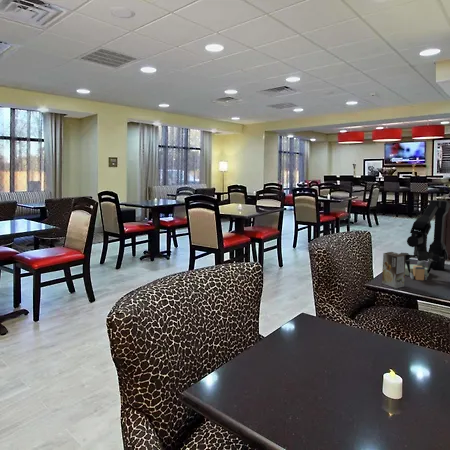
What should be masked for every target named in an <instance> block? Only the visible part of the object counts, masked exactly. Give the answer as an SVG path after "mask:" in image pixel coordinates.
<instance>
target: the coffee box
mask: <svg viewBox="0 0 450 450" xmlns="http://www.w3.org/2000/svg"><path fill="white" fill-rule="evenodd" d="M405 261H406V255H402V254H400V253H397V252H395V251H387V252H383V253H382V274H381V275H382V277H381V284H383V285H385V286H388V287H391V288H394V289H398V288H403V287H405V279H406V278H405V276H406V275H405V264H406V263H405Z"/></svg>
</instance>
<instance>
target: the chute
mask: <svg viewBox="0 0 450 450" xmlns="http://www.w3.org/2000/svg"><path fill="white" fill-rule="evenodd" d="M424 273H425V268H424V267H422V266H413V275H414V280H415V281H425V279H424Z"/></svg>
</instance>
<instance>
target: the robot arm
mask: <svg viewBox="0 0 450 450" xmlns="http://www.w3.org/2000/svg"><path fill="white" fill-rule="evenodd" d="M449 211H450V202H449V201H448V200H442V199H430V200H429V201H428V205H427V207H426V209H425V210H424V212H423V213H422V215H420V216H419V217H417V218H416V219H415V221H413V223H412V226H411V230H410V232H409V234H411V235H410V236H408V238H407V239H406V243H407V245H408V246H409V247H411V248H414V249H413V254H409V252H400V253H399V254H402V255H406V261H405V264H406V265H407V268H408V272H410V263H411V259H417V261H424V262H427V273H429V274H430V271H431V269H432V270H434V271H435V270H436V271H446V269H445V266H446V264H445V263H446V261H447V260H449V254H448V251H447V245H446V244H445V242H444V232H445V231H444V230H445V219H446V215H447V214H448V212H449ZM433 218H434V226H433V227H434V229H433V241H432V242H431V243H430V244H429V248H428V247H427V246H428V235H429V233H430V231H431V229H432V223H431V221H432V220H433Z"/></svg>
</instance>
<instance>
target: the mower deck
mask: <svg viewBox="0 0 450 450" xmlns="http://www.w3.org/2000/svg"><path fill="white" fill-rule="evenodd" d="M416 263H417V264H410V272H408V268H407V265H406V263H405V276H409V277H410V279H411V280H415V278H414V275H413V266H422V267H424V268H425V273H424V281H427V280H428V277H429V275H430V272H429V273H427V268H428V266H426V263H427V261H418V260H417V262H416Z"/></svg>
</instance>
